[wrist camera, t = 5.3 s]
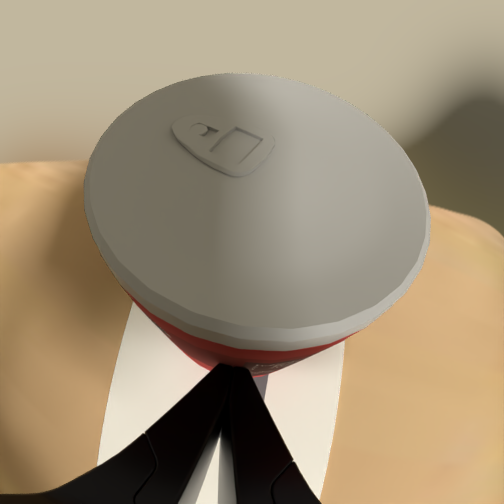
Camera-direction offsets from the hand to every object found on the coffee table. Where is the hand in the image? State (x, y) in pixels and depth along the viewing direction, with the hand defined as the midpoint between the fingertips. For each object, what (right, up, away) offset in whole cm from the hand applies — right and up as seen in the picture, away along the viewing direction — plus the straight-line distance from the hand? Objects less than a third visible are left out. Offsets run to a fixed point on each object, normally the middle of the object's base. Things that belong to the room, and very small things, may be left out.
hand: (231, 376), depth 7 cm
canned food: (0, 0, +8) cm, 8 cm away
